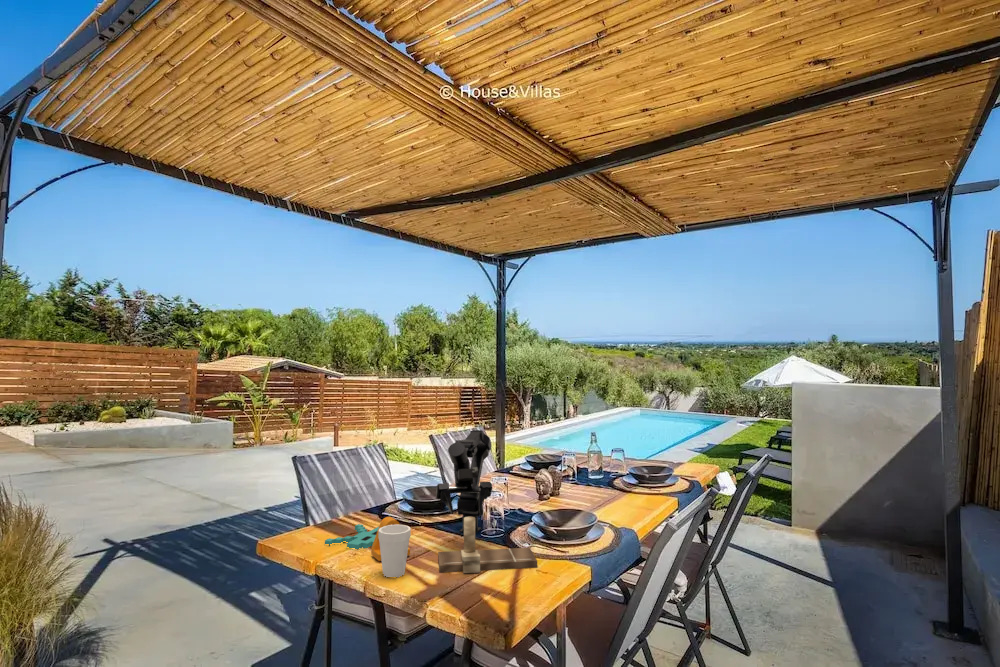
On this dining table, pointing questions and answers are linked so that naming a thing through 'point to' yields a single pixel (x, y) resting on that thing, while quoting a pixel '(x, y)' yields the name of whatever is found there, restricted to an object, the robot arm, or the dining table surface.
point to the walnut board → (490, 559)
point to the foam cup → (394, 549)
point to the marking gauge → (470, 548)
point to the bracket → (376, 545)
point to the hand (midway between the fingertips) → (466, 512)
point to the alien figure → (357, 538)
